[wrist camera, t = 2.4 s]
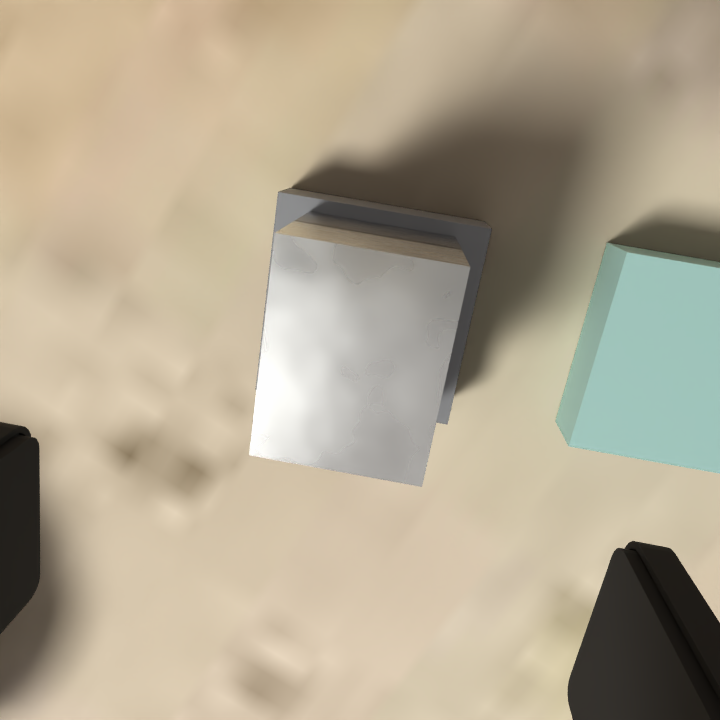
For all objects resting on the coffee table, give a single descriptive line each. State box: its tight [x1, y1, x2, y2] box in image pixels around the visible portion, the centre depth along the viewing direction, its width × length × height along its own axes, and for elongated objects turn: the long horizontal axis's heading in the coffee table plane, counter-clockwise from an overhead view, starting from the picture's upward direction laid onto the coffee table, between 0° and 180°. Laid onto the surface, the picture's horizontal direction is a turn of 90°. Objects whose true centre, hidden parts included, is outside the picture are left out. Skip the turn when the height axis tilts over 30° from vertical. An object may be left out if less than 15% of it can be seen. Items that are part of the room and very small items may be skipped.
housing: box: [249, 211, 470, 487], centre depth 22 cm, size 7×6×6 cm
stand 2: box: [556, 243, 720, 473], centre depth 25 cm, size 8×8×2 cm
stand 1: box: [256, 188, 492, 424], centre depth 26 cm, size 8×8×2 cm
